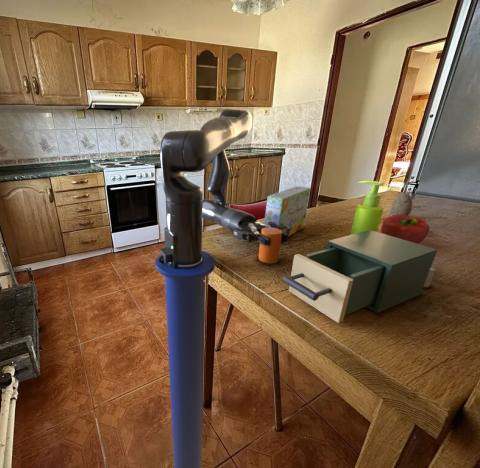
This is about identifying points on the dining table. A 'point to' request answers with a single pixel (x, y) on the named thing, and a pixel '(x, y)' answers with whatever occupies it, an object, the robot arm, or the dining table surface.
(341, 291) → the drawer
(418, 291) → the cabinet
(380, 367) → the dining table surface
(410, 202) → the decorative egg
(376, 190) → the soap dispenser
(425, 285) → the lighter
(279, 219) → the snack box
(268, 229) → the spice tin
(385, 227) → the vegetable
